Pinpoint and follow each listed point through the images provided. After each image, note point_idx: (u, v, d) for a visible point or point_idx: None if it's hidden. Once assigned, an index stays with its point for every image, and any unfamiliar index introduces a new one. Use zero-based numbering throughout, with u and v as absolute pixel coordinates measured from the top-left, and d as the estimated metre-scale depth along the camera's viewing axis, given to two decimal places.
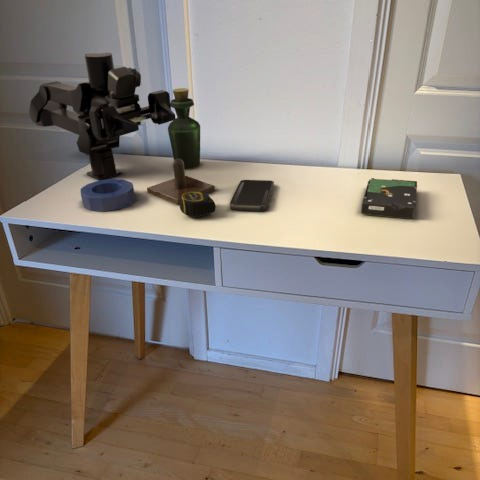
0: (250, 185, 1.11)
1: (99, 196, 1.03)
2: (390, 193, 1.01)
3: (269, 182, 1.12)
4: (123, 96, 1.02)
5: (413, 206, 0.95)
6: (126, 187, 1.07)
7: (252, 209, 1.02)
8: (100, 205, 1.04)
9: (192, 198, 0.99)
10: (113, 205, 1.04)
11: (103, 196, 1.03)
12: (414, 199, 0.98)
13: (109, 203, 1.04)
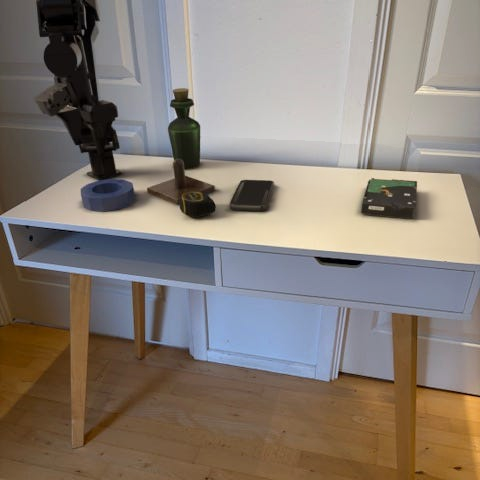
0: (250, 185, 1.11)
1: (99, 196, 1.03)
2: (390, 193, 1.01)
3: (269, 182, 1.12)
4: None
5: (413, 206, 0.95)
6: (126, 187, 1.07)
7: (252, 209, 1.02)
8: (100, 205, 1.04)
9: (192, 198, 0.99)
10: (113, 205, 1.04)
11: (103, 196, 1.03)
12: (414, 199, 0.98)
13: (109, 203, 1.04)
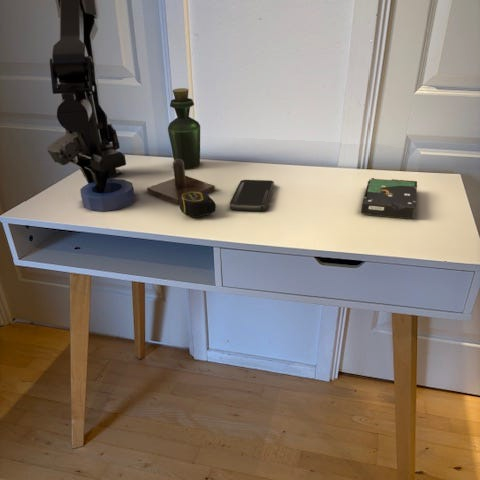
0: (250, 185, 1.11)
1: (99, 196, 1.03)
2: (390, 193, 1.01)
3: (269, 182, 1.12)
4: None
5: (413, 206, 0.95)
6: (126, 187, 1.07)
7: (252, 209, 1.02)
8: (100, 204, 1.04)
9: (192, 198, 0.99)
10: (113, 205, 1.04)
11: (103, 196, 1.03)
12: (414, 199, 0.98)
13: (109, 203, 1.04)
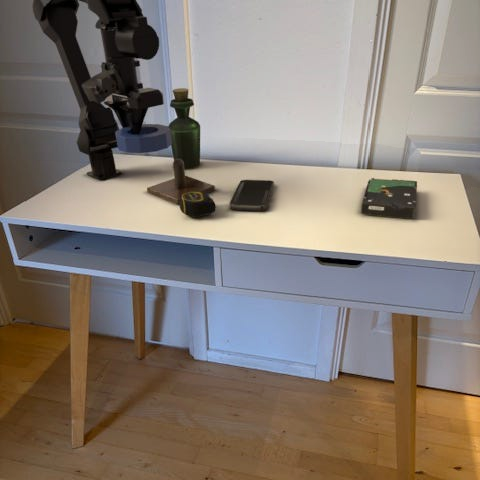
0: (250, 185, 1.11)
1: (136, 136, 0.98)
2: (390, 193, 1.01)
3: (269, 182, 1.12)
4: None
5: (413, 206, 0.95)
6: (163, 129, 1.02)
7: (252, 209, 1.02)
8: (138, 146, 0.99)
9: (192, 198, 0.99)
10: (151, 146, 0.99)
11: (141, 136, 0.98)
12: (414, 199, 0.98)
13: (146, 144, 0.99)
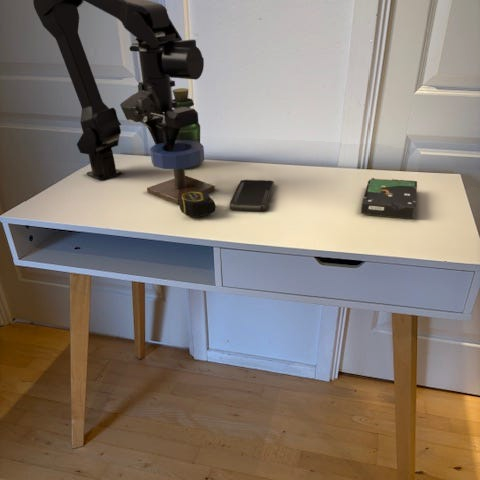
0: (250, 185, 1.11)
1: (173, 154, 1.03)
2: (390, 193, 1.01)
3: (269, 182, 1.12)
4: None
5: (413, 206, 0.95)
6: (196, 146, 1.07)
7: (252, 209, 1.02)
8: (174, 162, 1.03)
9: (192, 198, 0.99)
10: (186, 163, 1.03)
11: (177, 154, 1.03)
12: (414, 199, 0.98)
13: (182, 161, 1.03)
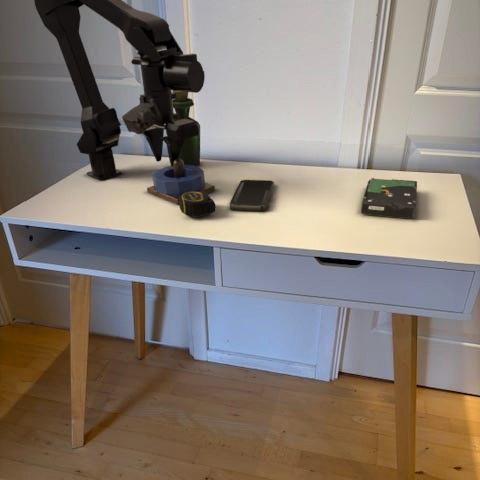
0: (250, 185, 1.11)
1: (175, 180, 1.06)
2: (390, 193, 1.01)
3: (269, 182, 1.12)
4: None
5: (413, 206, 0.95)
6: (197, 171, 1.11)
7: (252, 209, 1.02)
8: (177, 188, 1.07)
9: (192, 198, 0.99)
10: (189, 189, 1.07)
11: (179, 180, 1.06)
12: (414, 199, 0.98)
13: (185, 187, 1.07)
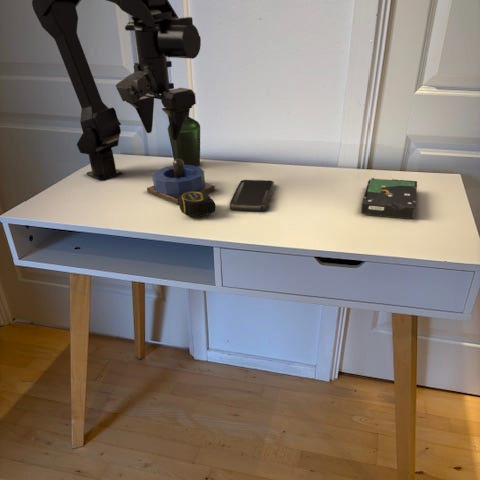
0: (250, 185, 1.11)
1: (175, 180, 1.06)
2: (390, 193, 1.01)
3: (269, 182, 1.12)
4: None
5: (413, 206, 0.95)
6: (197, 171, 1.11)
7: (252, 209, 1.02)
8: (177, 188, 1.07)
9: (192, 198, 0.99)
10: (189, 189, 1.07)
11: (179, 180, 1.06)
12: (414, 199, 0.98)
13: (185, 187, 1.07)
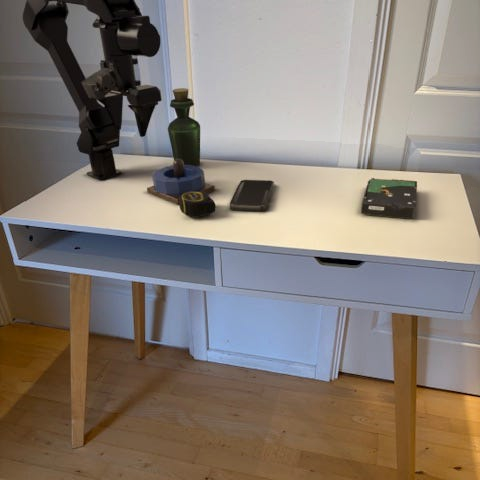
0: (250, 185, 1.11)
1: (175, 180, 1.06)
2: (390, 193, 1.01)
3: (269, 182, 1.12)
4: None
5: (413, 206, 0.95)
6: (197, 171, 1.11)
7: (252, 209, 1.02)
8: (177, 188, 1.07)
9: (192, 198, 0.99)
10: (189, 189, 1.07)
11: (179, 180, 1.06)
12: (414, 199, 0.98)
13: (185, 187, 1.07)
